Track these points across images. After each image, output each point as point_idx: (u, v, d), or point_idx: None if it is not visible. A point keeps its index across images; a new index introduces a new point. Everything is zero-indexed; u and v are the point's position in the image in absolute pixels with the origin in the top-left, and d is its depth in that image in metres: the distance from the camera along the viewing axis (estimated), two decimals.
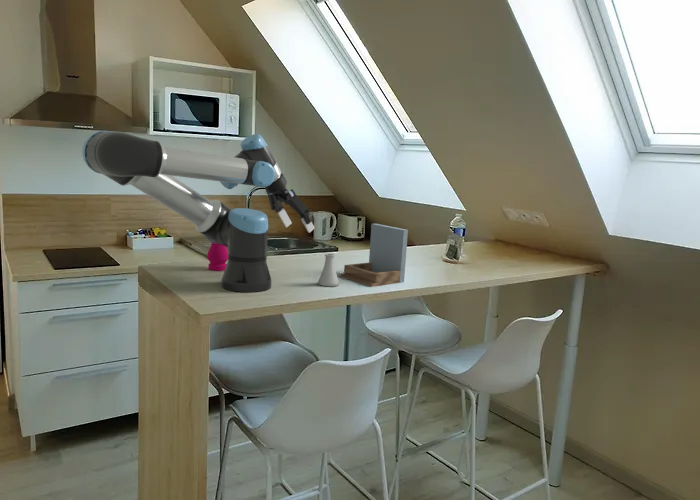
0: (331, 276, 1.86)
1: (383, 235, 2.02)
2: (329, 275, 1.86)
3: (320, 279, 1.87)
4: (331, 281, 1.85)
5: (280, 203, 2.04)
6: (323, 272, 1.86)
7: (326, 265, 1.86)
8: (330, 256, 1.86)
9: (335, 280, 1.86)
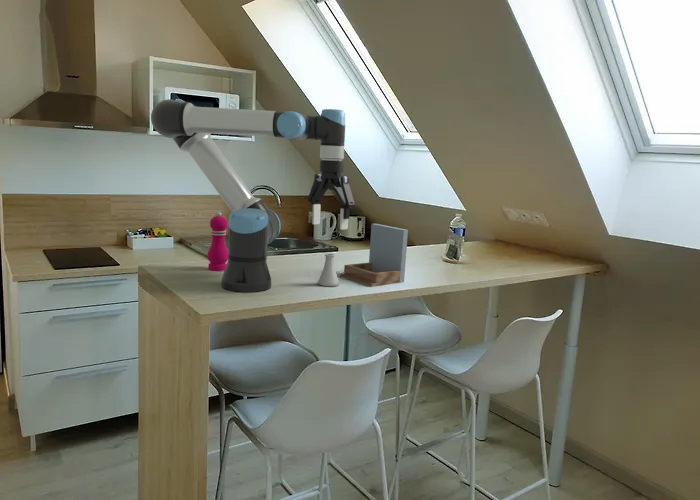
0: (331, 276, 1.86)
1: (383, 235, 2.02)
2: (329, 275, 1.86)
3: (320, 279, 1.87)
4: (331, 281, 1.85)
5: (321, 195, 1.89)
6: (323, 272, 1.86)
7: (326, 265, 1.86)
8: (330, 256, 1.86)
9: (335, 280, 1.86)
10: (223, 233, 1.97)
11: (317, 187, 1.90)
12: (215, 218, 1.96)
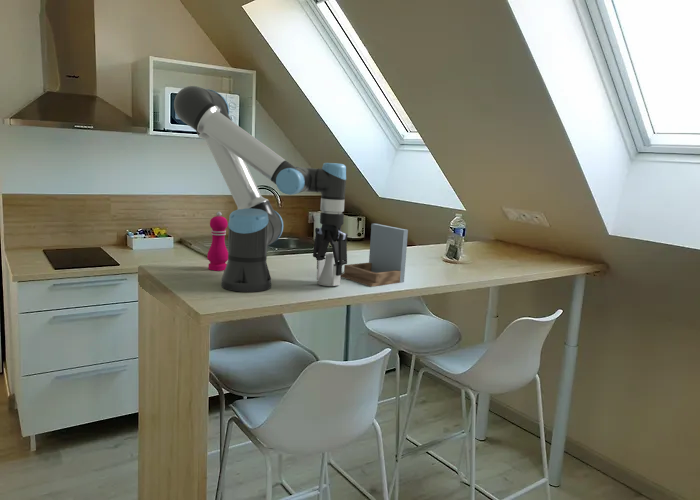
0: (331, 275, 1.86)
1: (383, 235, 2.02)
2: (329, 275, 1.86)
3: (320, 279, 1.87)
4: (331, 281, 1.85)
5: (325, 248, 1.89)
6: (323, 272, 1.86)
7: (326, 264, 1.86)
8: (330, 256, 1.86)
9: None
10: (223, 233, 1.97)
11: (320, 241, 1.90)
12: (215, 218, 1.96)
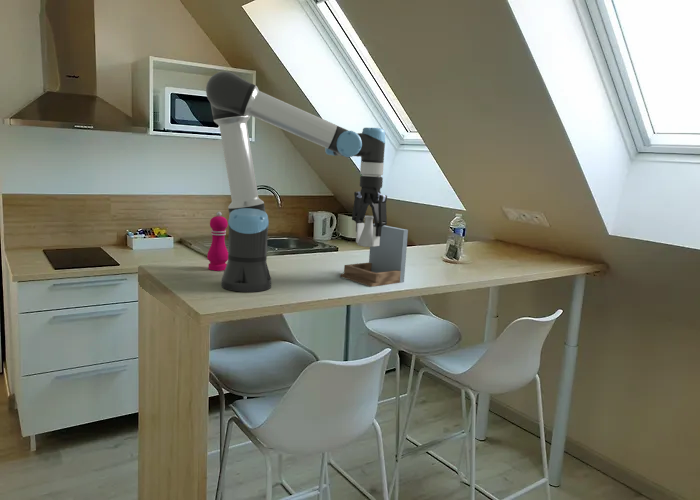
0: (371, 237, 1.93)
1: (383, 235, 2.02)
2: (369, 236, 1.93)
3: (360, 240, 1.94)
4: (371, 242, 1.92)
5: (364, 211, 1.96)
6: (363, 233, 1.93)
7: (365, 226, 1.93)
8: (370, 218, 1.93)
9: None
10: (223, 233, 1.97)
11: (359, 204, 1.97)
12: (215, 218, 1.96)
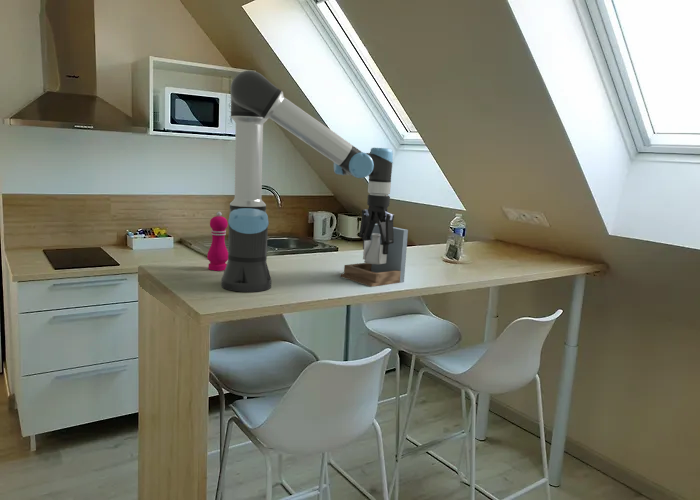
0: (378, 254, 1.96)
1: None
2: (376, 254, 1.96)
3: (367, 258, 1.97)
4: (378, 259, 1.96)
5: (371, 229, 2.00)
6: (370, 251, 1.97)
7: (372, 244, 1.97)
8: (377, 236, 1.96)
9: None
10: (223, 233, 1.97)
11: (366, 222, 2.01)
12: (215, 218, 1.96)
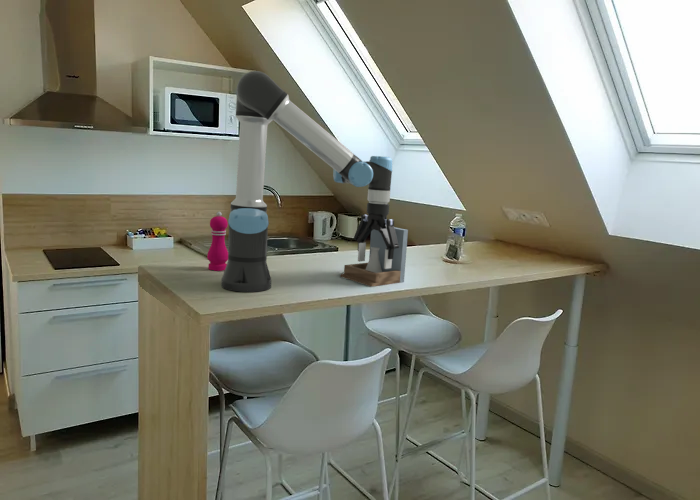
0: (376, 268, 1.97)
1: None
2: (374, 268, 1.97)
3: None
4: None
5: (367, 234, 2.01)
6: (369, 265, 1.98)
7: (371, 258, 1.98)
8: (376, 249, 1.97)
9: None
10: (223, 233, 1.97)
11: (363, 227, 2.02)
12: (215, 218, 1.96)
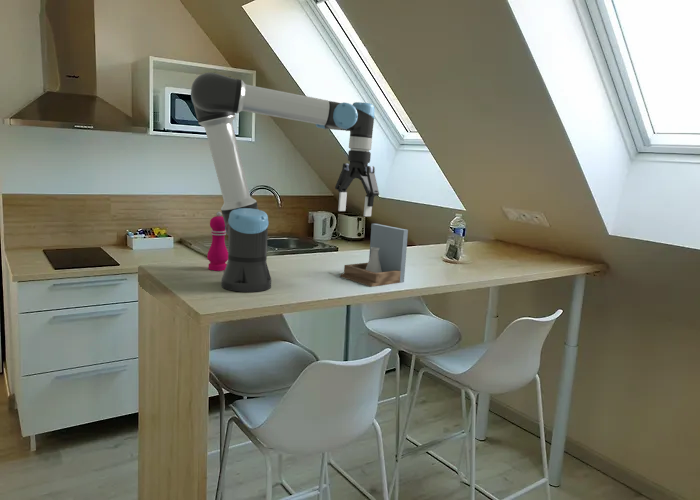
0: (376, 268, 1.97)
1: (383, 235, 2.02)
2: (374, 268, 1.97)
3: None
4: None
5: (348, 183, 2.00)
6: (369, 265, 1.98)
7: (371, 258, 1.98)
8: (375, 249, 1.97)
9: (379, 272, 1.98)
10: (223, 233, 1.97)
11: (344, 176, 2.01)
12: (215, 218, 1.96)
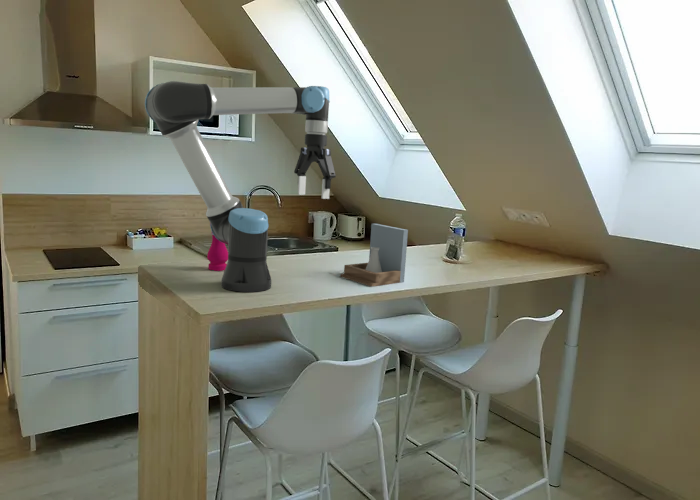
0: (376, 268, 1.97)
1: (383, 235, 2.02)
2: (374, 268, 1.97)
3: None
4: None
5: (307, 167, 2.02)
6: (369, 265, 1.98)
7: (371, 258, 1.98)
8: (376, 249, 1.97)
9: None
10: None
11: (303, 160, 2.03)
12: None
